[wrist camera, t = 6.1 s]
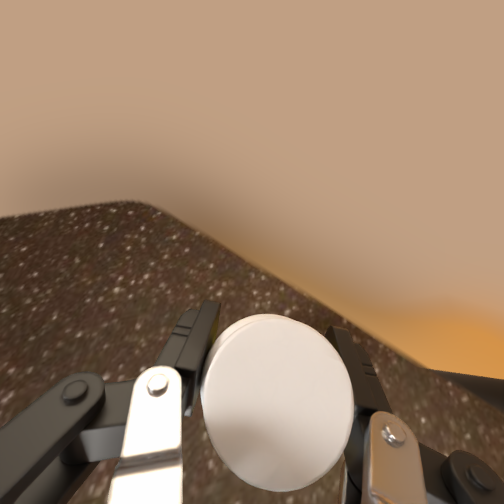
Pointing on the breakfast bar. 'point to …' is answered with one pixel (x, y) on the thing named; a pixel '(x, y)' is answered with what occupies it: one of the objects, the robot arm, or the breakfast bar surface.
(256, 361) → the supplement bottle
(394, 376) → the breakfast bar surface
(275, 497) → the breakfast bar surface
